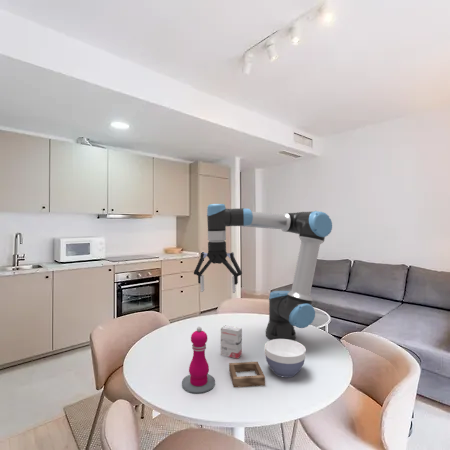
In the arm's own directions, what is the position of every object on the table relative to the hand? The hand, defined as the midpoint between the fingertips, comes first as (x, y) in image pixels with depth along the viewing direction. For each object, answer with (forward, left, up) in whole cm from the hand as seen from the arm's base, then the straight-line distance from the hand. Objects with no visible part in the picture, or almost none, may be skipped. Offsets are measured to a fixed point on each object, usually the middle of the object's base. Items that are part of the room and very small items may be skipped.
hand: (218, 291), depth 121 cm
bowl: (-26, +11, -30) cm, 41 cm away
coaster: (+8, +16, -29) cm, 34 cm away
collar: (-10, +14, -29) cm, 34 cm away
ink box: (-7, -5, -30) cm, 31 cm away
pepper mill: (+8, +16, -29) cm, 34 cm away
